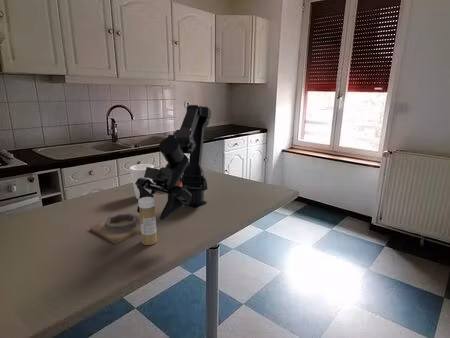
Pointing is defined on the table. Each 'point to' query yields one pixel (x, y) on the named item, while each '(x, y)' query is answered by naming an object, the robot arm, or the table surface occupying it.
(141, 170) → the foam cup
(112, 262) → the table surface
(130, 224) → the collar plate
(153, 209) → the sprinkles bottle
